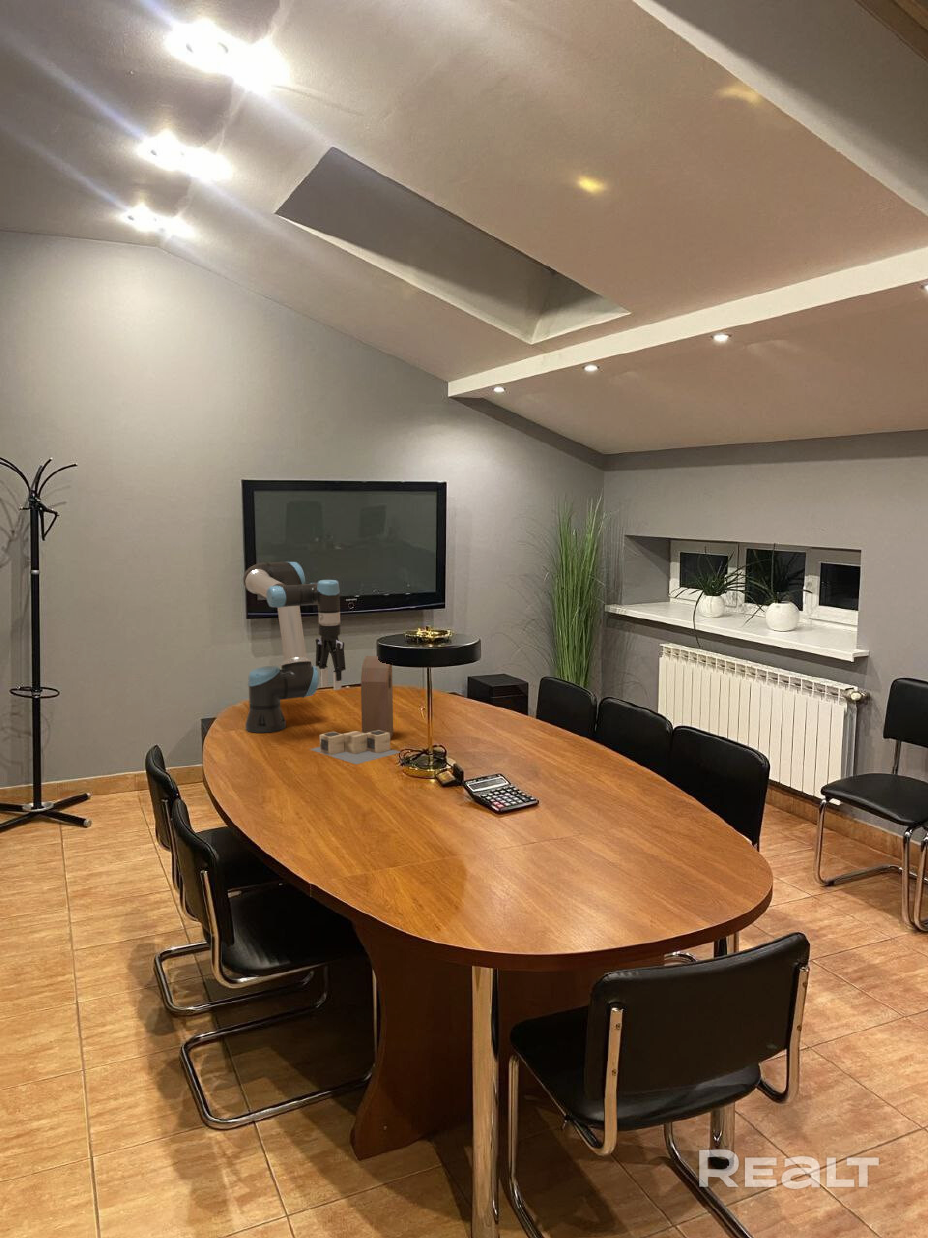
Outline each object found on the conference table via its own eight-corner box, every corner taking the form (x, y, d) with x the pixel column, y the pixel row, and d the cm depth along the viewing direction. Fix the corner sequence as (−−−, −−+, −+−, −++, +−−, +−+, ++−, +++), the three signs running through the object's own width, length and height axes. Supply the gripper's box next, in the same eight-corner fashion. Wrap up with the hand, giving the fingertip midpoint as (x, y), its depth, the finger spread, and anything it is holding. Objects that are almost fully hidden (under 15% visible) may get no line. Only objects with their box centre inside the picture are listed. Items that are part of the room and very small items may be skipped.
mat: (309, 751, 326) (309, 749, 326) (354, 739, 340) (354, 738, 340) (356, 766, 308) (356, 764, 308) (401, 753, 322) (401, 752, 322)
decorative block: (393, 735, 346) (392, 656, 342) (388, 742, 336) (387, 661, 332) (367, 735, 347) (365, 655, 343) (362, 742, 337) (360, 660, 333)
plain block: (343, 750, 324) (342, 734, 323) (356, 747, 328) (356, 730, 327) (353, 754, 320) (353, 737, 319) (367, 750, 324) (367, 733, 323)
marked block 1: (319, 751, 323) (318, 734, 322) (333, 748, 327) (333, 730, 326) (329, 755, 319) (329, 737, 318) (344, 751, 323) (343, 733, 322)
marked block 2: (365, 750, 324) (364, 732, 324) (379, 746, 329) (378, 729, 328) (376, 753, 320) (376, 735, 319) (390, 749, 325) (389, 732, 324)
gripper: (304, 622, 331) (305, 685, 334) (338, 628, 317) (339, 693, 321) (321, 620, 336) (322, 682, 340) (355, 625, 323) (356, 690, 326)
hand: (331, 687), depth 330 cm, fingers open, 7 cm apart
